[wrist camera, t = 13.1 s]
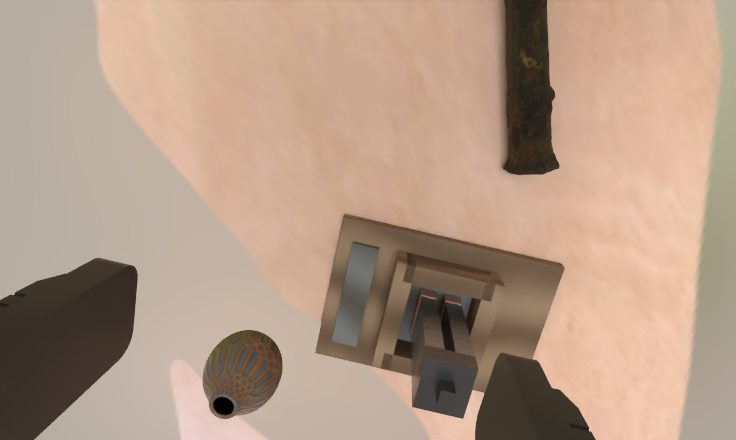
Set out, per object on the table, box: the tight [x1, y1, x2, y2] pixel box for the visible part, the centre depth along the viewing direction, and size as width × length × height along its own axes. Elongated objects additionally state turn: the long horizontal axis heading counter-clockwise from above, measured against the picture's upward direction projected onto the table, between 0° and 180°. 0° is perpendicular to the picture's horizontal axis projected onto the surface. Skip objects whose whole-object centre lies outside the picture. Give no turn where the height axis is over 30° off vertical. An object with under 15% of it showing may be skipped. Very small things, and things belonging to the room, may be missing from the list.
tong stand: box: [316, 214, 564, 393], centre depth 43 cm, size 14×20×4 cm
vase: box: [203, 330, 282, 419], centre depth 43 cm, size 7×7×9 cm
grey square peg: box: [410, 288, 479, 419], centre depth 37 cm, size 4×4×13 cm
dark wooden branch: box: [503, 0, 559, 175], centre depth 36 cm, size 19×4×5 cm, turn 4°
